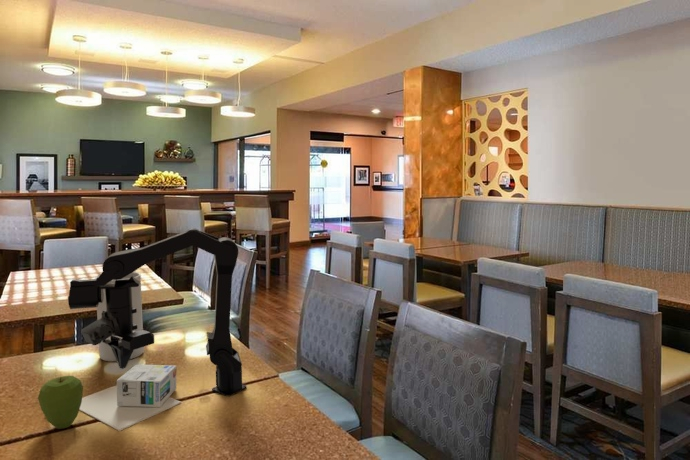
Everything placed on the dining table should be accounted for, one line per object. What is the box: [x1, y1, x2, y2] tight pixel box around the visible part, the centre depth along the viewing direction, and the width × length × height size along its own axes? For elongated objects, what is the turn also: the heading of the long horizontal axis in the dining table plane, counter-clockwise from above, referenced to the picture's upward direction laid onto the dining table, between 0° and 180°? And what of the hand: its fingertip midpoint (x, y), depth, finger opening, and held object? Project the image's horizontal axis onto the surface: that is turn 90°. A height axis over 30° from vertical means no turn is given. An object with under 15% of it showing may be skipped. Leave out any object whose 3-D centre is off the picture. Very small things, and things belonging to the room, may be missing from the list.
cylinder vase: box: [94, 271, 145, 363], centre depth 149 cm, size 12×12×25 cm
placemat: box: [79, 384, 182, 432], centre depth 118 cm, size 22×16×1 cm
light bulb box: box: [116, 363, 178, 407], centre depth 120 cm, size 11×7×11 cm
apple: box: [37, 375, 84, 430], centre depth 107 cm, size 9×8×12 cm
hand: (122, 368), depth 117 cm, fingers closed
